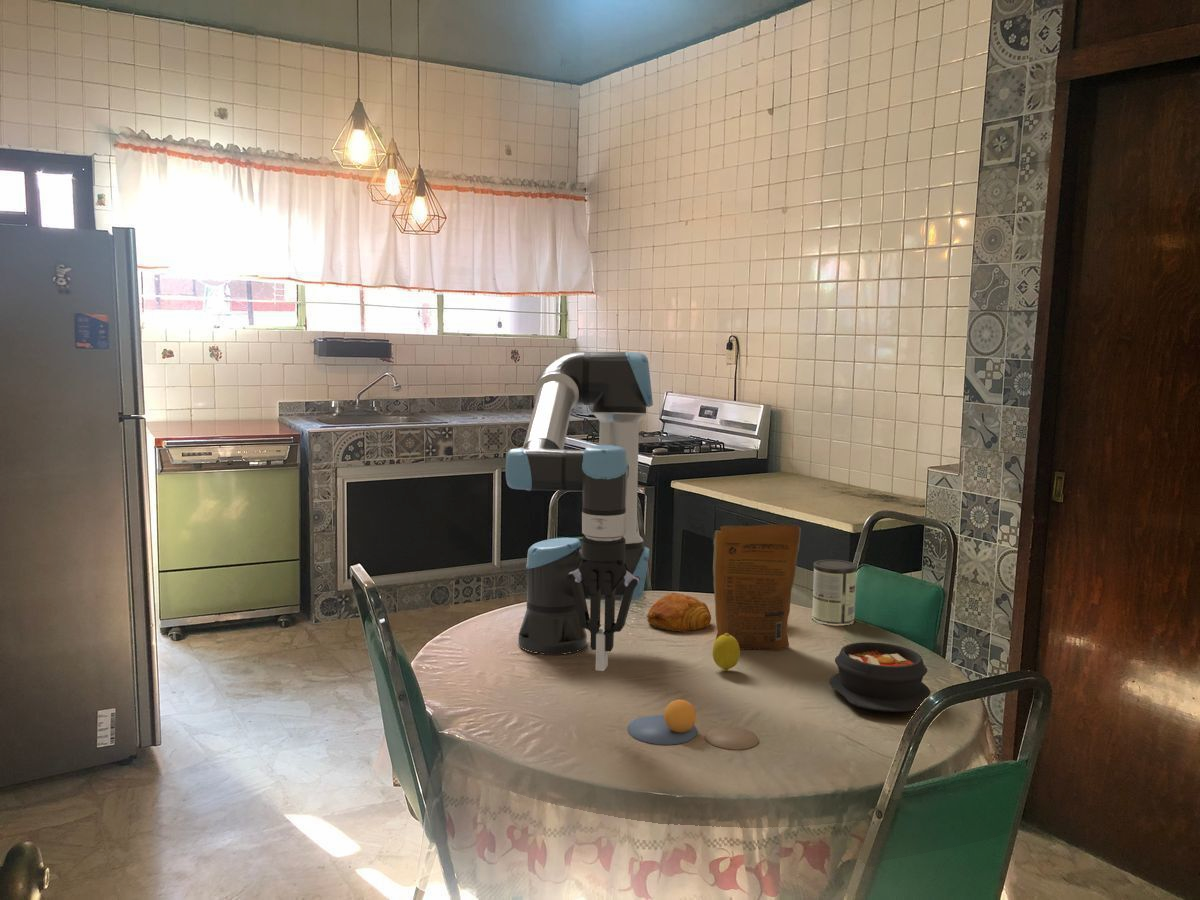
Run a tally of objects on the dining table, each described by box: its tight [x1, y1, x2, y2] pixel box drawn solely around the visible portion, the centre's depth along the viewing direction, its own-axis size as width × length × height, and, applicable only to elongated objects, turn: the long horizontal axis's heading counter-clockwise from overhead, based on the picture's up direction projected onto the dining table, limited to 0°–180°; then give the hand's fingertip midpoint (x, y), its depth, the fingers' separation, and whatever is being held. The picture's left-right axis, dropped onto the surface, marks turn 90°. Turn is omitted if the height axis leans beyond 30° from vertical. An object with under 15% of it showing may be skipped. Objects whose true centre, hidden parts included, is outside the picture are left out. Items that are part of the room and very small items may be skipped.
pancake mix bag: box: [712, 524, 802, 651], centre depth 205 cm, size 7×19×28 cm, turn 87°
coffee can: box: [811, 559, 858, 624], centre depth 227 cm, size 10×10×14 cm
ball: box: [663, 699, 697, 733], centre depth 160 cm, size 6×6×6 cm
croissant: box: [646, 592, 712, 633], centre depth 223 cm, size 14×16×8 cm
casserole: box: [829, 641, 932, 713], centre depth 178 cm, size 25×19×8 cm
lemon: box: [712, 633, 741, 672], centre depth 190 cm, size 6×6×8 cm
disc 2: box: [704, 726, 760, 751], centre depth 158 cm, size 9×9×1 cm
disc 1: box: [627, 714, 698, 746], centre depth 161 cm, size 12×12×1 cm
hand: (601, 667), depth 163 cm, fingers closed
